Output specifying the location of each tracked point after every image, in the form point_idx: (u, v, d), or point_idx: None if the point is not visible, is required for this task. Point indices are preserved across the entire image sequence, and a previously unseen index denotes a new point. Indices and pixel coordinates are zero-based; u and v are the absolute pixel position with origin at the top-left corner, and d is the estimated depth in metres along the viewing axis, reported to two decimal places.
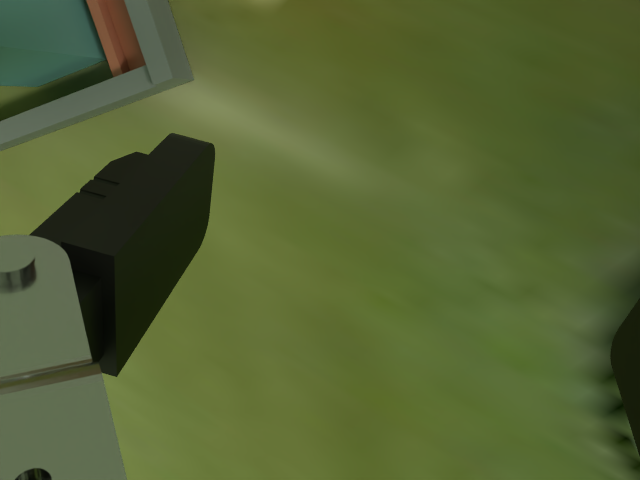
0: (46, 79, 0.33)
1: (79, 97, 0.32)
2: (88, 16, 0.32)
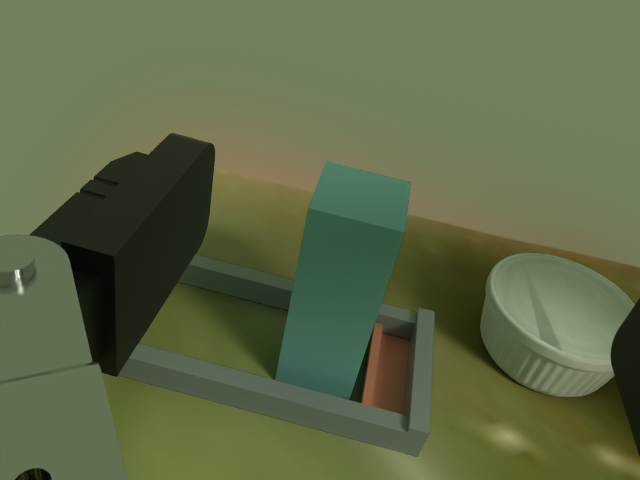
0: (295, 378, 0.37)
1: (331, 400, 0.35)
2: None
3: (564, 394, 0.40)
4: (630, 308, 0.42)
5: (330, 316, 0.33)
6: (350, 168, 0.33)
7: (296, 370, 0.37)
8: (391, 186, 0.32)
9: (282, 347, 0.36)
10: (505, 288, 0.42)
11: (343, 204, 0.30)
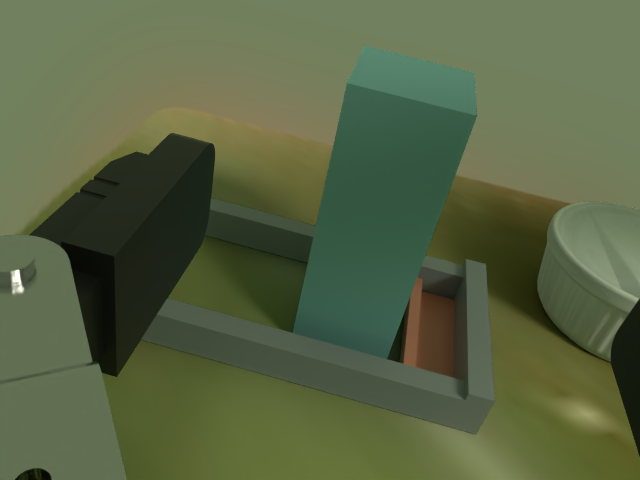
0: (318, 335, 0.29)
1: (365, 358, 0.27)
2: None
3: None
4: None
5: (367, 246, 0.26)
6: (396, 54, 0.26)
7: (319, 324, 0.29)
8: (450, 74, 0.25)
9: (302, 292, 0.28)
10: (572, 237, 0.34)
11: (392, 84, 0.23)
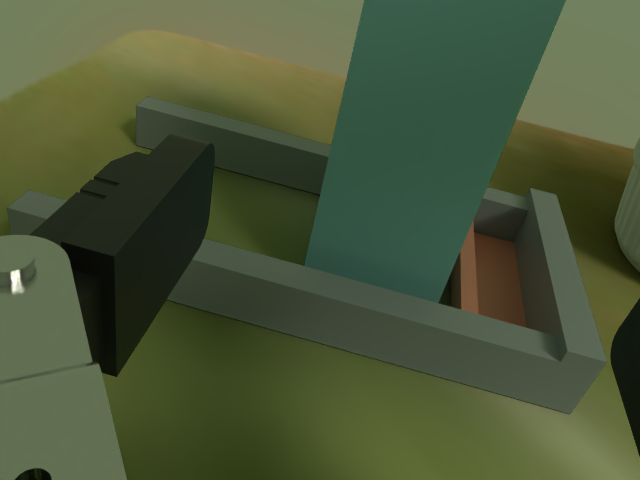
0: None
1: (411, 302, 0.19)
2: None
3: None
4: None
5: (418, 131, 0.17)
6: None
7: (341, 259, 0.20)
8: None
9: (319, 209, 0.19)
10: None
11: None
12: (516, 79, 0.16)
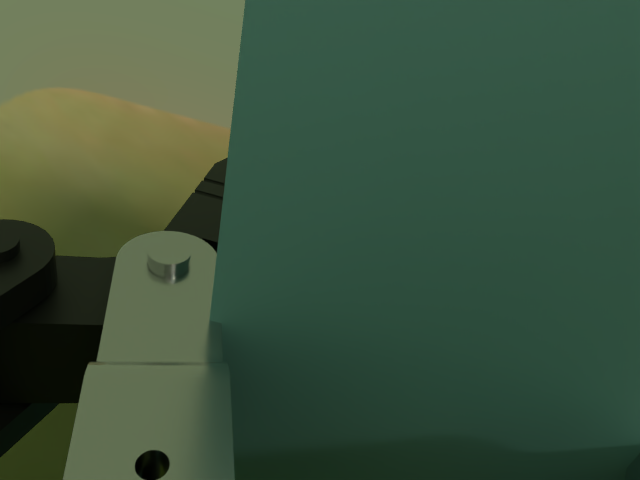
0: None
1: None
2: None
3: None
4: None
5: None
6: None
7: None
8: None
9: None
10: None
11: None
12: (623, 444, 0.06)
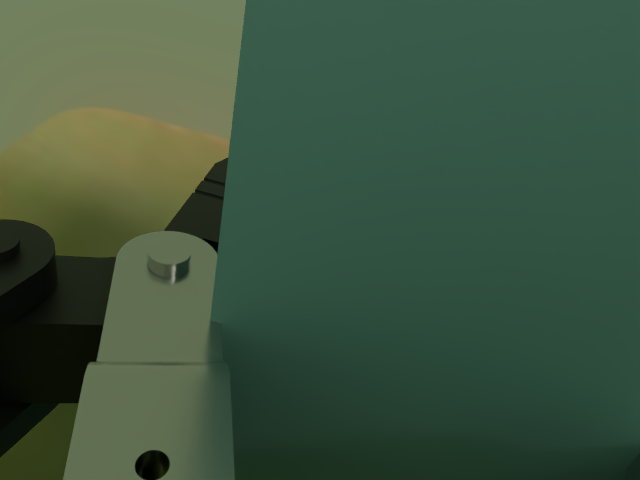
0: None
1: None
2: None
3: None
4: None
5: None
6: None
7: None
8: None
9: None
10: None
11: None
12: (624, 444, 0.06)
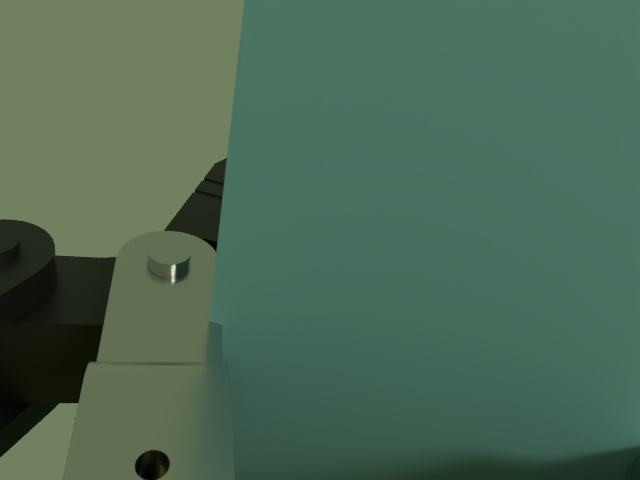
0: None
1: None
2: None
3: None
4: None
5: None
6: None
7: None
8: None
9: None
10: None
11: None
12: (623, 445, 0.06)
